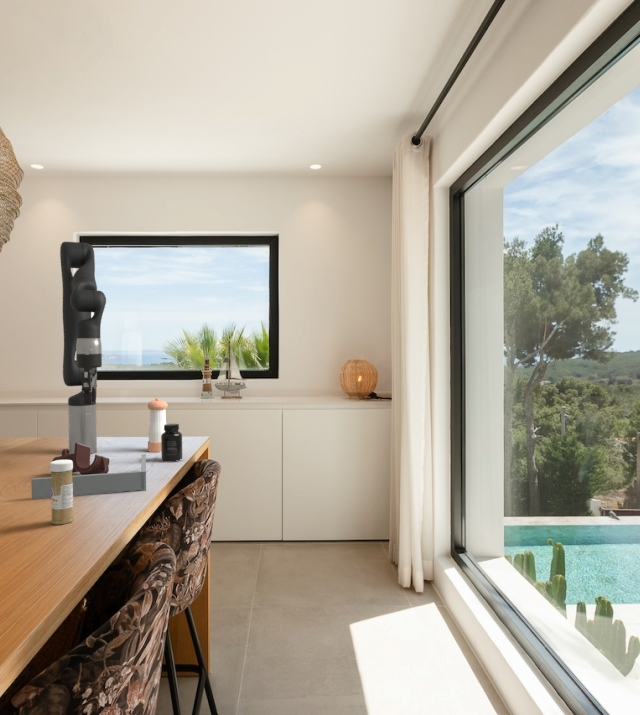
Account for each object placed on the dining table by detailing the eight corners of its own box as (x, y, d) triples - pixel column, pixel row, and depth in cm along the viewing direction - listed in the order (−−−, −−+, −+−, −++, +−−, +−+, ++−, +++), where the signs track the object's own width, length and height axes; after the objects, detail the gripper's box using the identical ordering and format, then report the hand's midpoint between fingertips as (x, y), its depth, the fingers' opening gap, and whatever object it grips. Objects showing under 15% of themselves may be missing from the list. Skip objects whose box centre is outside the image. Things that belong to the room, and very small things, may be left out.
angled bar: (47, 477, 168) (47, 460, 168) (145, 470, 176) (145, 454, 176) (31, 499, 144) (31, 479, 144) (146, 490, 152) (145, 471, 152)
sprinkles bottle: (47, 522, 125) (46, 461, 125) (67, 517, 129) (66, 458, 128) (57, 526, 122) (56, 464, 122) (77, 521, 126) (76, 460, 125)
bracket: (100, 471, 163) (101, 437, 167) (49, 481, 166) (51, 447, 170) (113, 474, 168) (114, 441, 172) (63, 484, 172) (65, 451, 176)
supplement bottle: (186, 458, 194) (186, 423, 193) (175, 462, 187) (174, 426, 187) (169, 457, 196) (168, 422, 195) (157, 461, 189) (156, 425, 189)
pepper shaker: (168, 451, 206) (167, 398, 205) (147, 452, 204) (146, 399, 203) (168, 448, 213) (168, 397, 212) (148, 449, 211) (147, 397, 211)
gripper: (80, 352, 189) (80, 401, 189) (72, 353, 175) (73, 405, 175) (104, 352, 190) (104, 400, 191) (98, 352, 177) (99, 405, 177)
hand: (89, 403), depth 183 cm, fingers open, 8 cm apart
